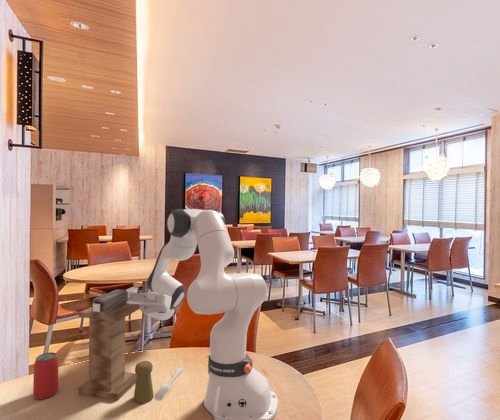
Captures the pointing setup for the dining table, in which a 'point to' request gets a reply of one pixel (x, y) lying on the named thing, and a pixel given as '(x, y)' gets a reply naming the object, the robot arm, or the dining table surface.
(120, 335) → the tube stand
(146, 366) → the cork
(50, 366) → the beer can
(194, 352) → the dining table surface
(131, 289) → the grey bar
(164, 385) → the fork
